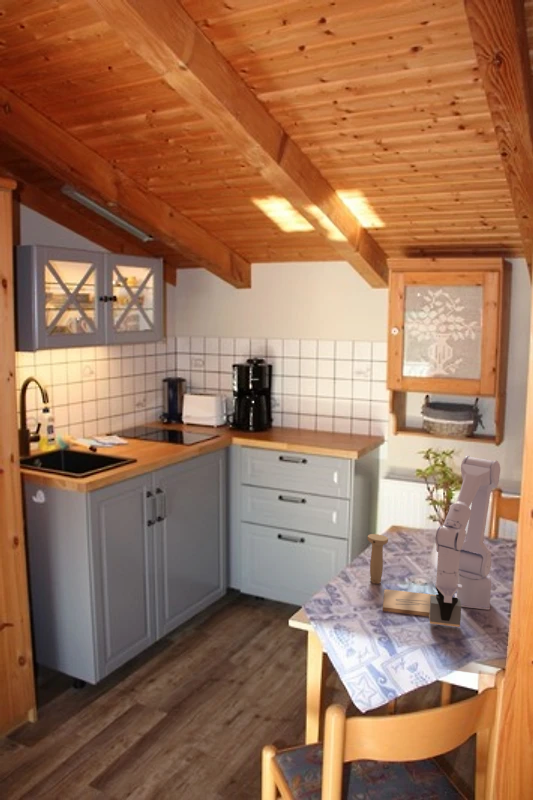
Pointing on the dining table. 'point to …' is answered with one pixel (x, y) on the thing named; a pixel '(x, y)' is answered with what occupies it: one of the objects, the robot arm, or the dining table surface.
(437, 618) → the block
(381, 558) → the handle
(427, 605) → the oak board
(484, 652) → the dining table surface
